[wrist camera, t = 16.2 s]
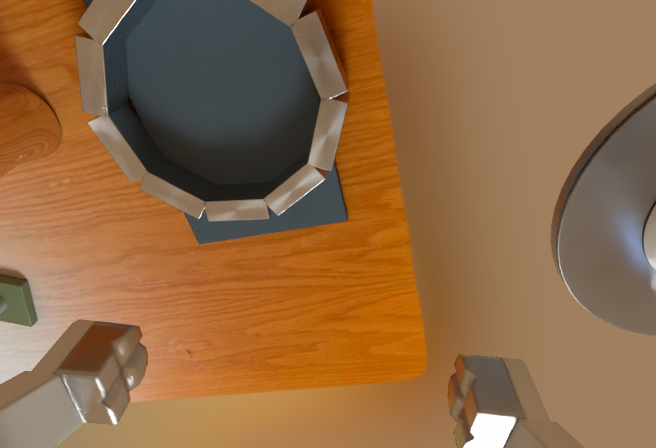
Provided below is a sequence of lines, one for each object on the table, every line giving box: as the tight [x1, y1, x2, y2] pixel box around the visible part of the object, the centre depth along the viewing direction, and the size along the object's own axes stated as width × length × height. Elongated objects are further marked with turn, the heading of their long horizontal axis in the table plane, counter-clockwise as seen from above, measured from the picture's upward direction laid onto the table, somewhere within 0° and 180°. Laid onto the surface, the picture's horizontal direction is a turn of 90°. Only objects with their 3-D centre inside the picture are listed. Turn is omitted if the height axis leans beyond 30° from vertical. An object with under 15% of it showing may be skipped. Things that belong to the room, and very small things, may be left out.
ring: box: [75, 0, 349, 222], centre depth 28 cm, size 18×18×3 cm
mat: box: [84, 0, 348, 244], centre depth 30 cm, size 24×14×1 cm, turn 13°
